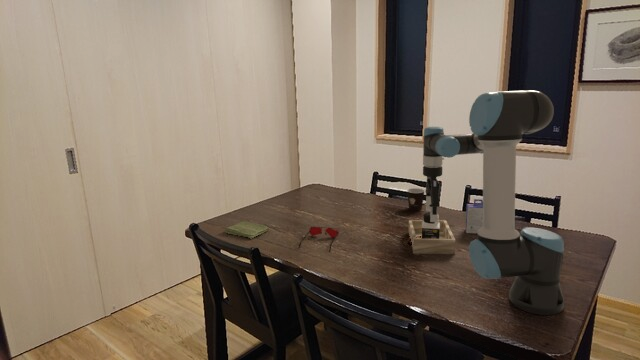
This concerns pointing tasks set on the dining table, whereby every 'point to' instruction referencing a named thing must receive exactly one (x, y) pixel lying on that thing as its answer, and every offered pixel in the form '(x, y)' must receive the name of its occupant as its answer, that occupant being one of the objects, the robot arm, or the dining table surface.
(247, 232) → the washcloth
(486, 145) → the robot arm
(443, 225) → the birch box
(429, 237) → the medicine bottle
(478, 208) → the ink cartridge box
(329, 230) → the glasses
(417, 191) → the coffee mug
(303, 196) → the dining table surface
